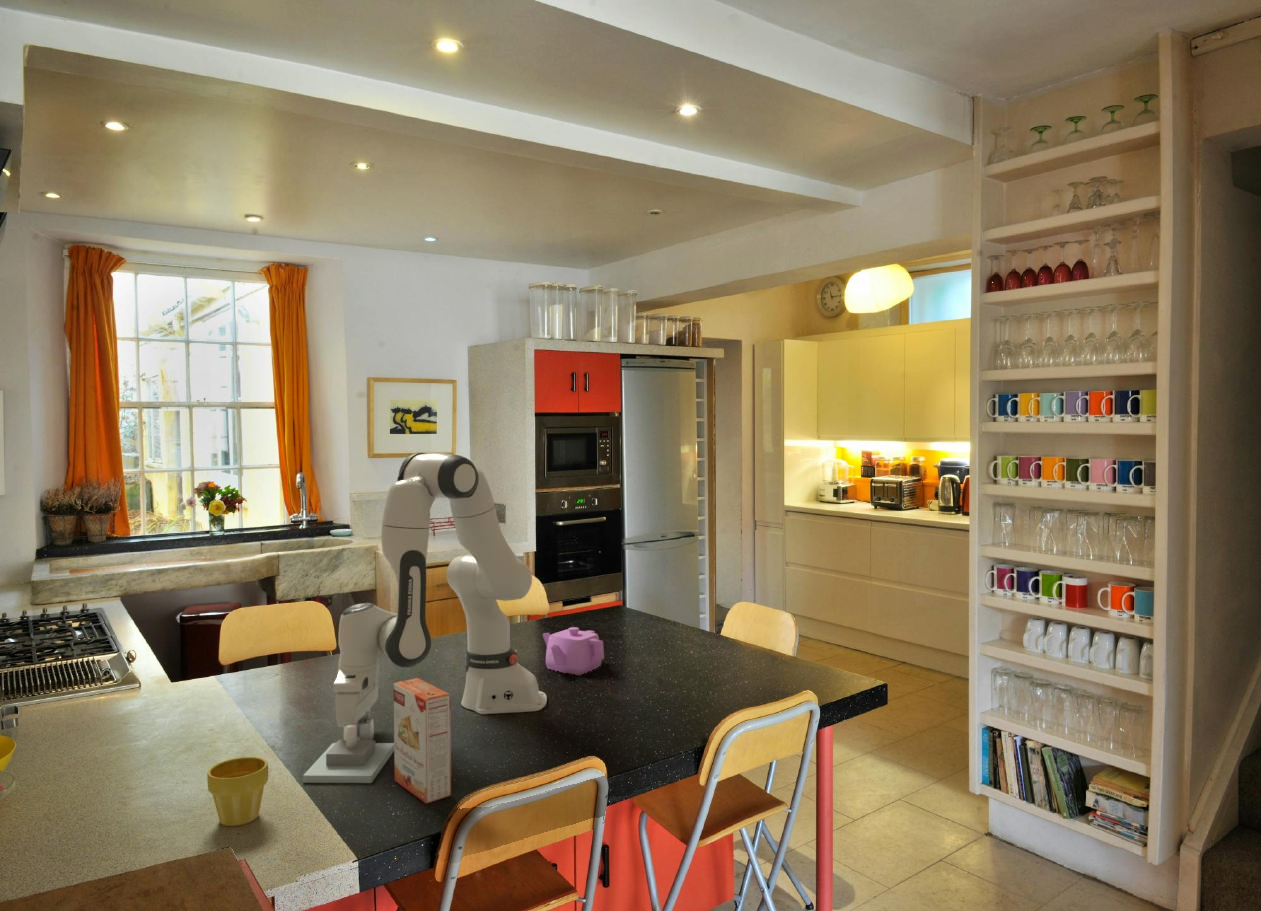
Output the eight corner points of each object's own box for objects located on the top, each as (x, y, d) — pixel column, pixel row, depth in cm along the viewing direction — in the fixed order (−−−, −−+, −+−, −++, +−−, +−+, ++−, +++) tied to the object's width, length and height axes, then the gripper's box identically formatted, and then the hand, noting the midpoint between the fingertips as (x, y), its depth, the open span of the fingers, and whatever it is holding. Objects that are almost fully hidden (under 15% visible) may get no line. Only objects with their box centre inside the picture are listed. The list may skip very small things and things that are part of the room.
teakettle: (606, 674, 253) (606, 633, 253) (549, 677, 249) (549, 636, 249) (595, 659, 270) (595, 620, 270) (541, 662, 266) (542, 622, 266)
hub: (376, 734, 202) (375, 716, 202) (368, 744, 196) (368, 725, 196) (349, 734, 202) (349, 716, 202) (341, 744, 196) (340, 725, 196)
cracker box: (392, 782, 176) (392, 681, 175) (419, 774, 180) (419, 676, 179) (424, 805, 165) (424, 698, 164) (452, 797, 169) (452, 692, 168)
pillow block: (394, 749, 193) (394, 712, 193) (371, 782, 175) (371, 742, 175) (332, 749, 193) (332, 712, 193) (303, 782, 175) (302, 741, 175)
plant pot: (194, 825, 156) (194, 772, 156) (238, 802, 166) (238, 752, 165) (238, 835, 152) (237, 781, 152) (281, 811, 162) (280, 760, 162)
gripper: (358, 661, 209) (359, 717, 209) (330, 687, 188) (330, 749, 189) (384, 661, 209) (384, 717, 209) (358, 687, 188) (359, 749, 189)
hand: (358, 732), depth 199 cm, fingers closed on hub, 6 cm apart
